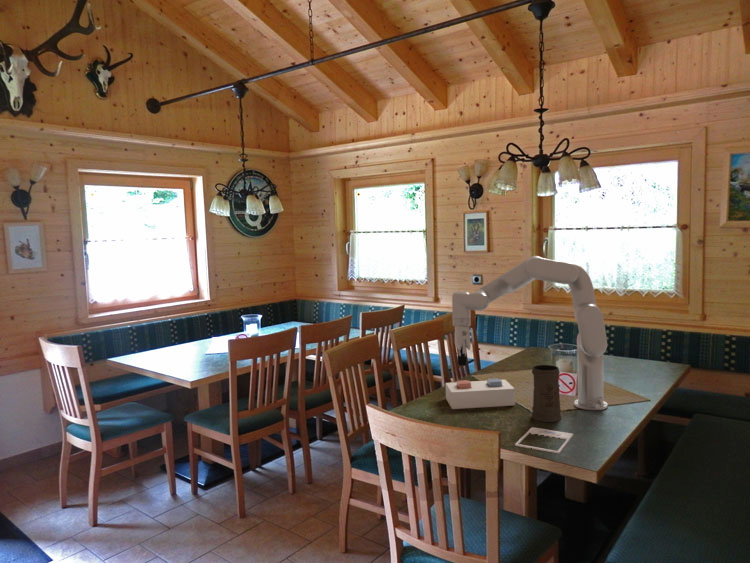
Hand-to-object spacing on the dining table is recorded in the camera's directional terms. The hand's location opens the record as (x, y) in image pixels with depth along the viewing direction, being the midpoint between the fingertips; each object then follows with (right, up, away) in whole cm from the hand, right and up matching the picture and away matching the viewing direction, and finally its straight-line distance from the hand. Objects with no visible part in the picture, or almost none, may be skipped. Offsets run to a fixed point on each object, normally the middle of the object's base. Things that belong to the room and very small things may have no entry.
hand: (462, 364), depth 235 cm
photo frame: (+22, -20, -42) cm, 52 cm away
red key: (+1, -11, +1) cm, 11 cm away
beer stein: (+29, -17, -18) cm, 38 cm away
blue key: (+14, -11, +2) cm, 18 cm away
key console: (+8, -16, +2) cm, 18 cm away
